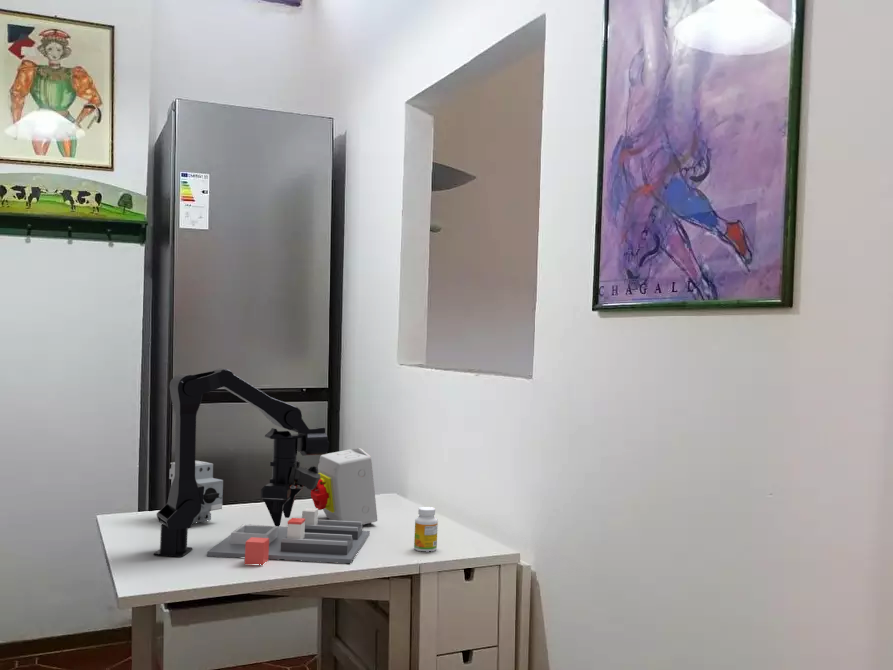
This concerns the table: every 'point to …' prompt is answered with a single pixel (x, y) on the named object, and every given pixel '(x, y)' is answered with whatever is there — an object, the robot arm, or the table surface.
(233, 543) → the panel
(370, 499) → the electrical switch box
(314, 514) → the toggle
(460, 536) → the table surface
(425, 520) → the supplement bottle
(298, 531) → the toggle
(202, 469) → the circuit breaker
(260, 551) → the coral foam cube
